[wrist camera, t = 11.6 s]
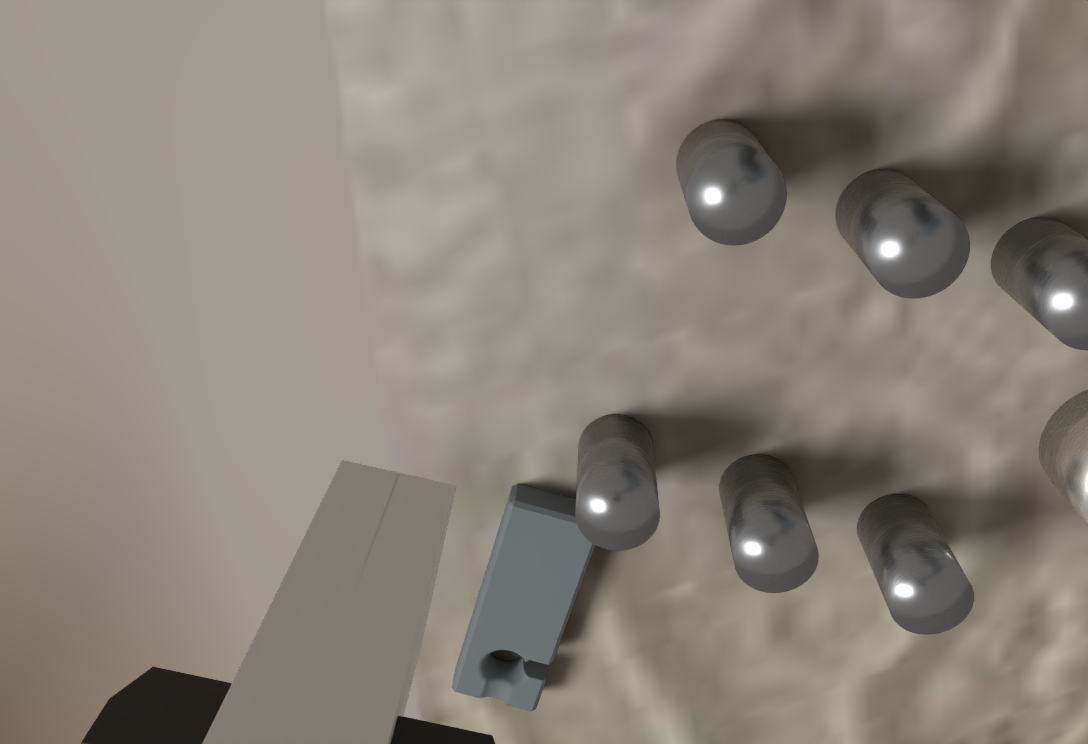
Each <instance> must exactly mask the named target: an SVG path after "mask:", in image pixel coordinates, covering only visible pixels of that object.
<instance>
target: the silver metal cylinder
mask: <svg viewBox="0 0 1088 744" xmlns="http://www.w3.org/2000/svg"><path fill="white" fill-rule="evenodd" d="M1039 457H1040V462H1041V465H1042V467H1043V470H1044V472H1045V473H1046V475H1047V476H1048V477H1049V479H1050V480H1051V481H1052V482H1053V484H1054V485H1055V486H1056V487H1057V488H1058V490H1059V491H1060V492H1061V493H1062V494H1063V496H1064V497H1065V498H1066V499H1067V501H1068V502H1069V503H1070V504H1071V505H1072V507H1073V508H1074V509H1075V510H1076V512H1077V513H1078V514H1079V515H1080V516H1081V518H1082V519H1083V520H1084V521H1085V523H1086V524H1087V525H1088V390H1086V391H1083V392H1081V393H1079V394H1077V395H1076V396H1074V397H1072V398H1071V399H1069V400H1068V401H1067V402H1065V403H1064V404H1063V405H1062V406H1061V407H1060V408H1059V409H1058V410H1057V411H1056V412H1055V413H1054V414H1053V415H1052V417H1051V418H1050V419H1049V421H1048V423H1047V424H1046V426H1045V428H1044V430H1043V433H1042V435H1041V439H1040V445H1039Z"/></svg>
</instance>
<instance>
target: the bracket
mask: <svg viewBox="0 0 1088 744" xmlns="http://www.w3.org/2000/svg"><path fill="white" fill-rule="evenodd" d="M575 512H576V499H573V498H569V497H565V496H562V495H558V494H554V493H550V492H547V491H543V490H539V489H536V488H532V487H528V486H524V485H521V484H516V485H514V486H512V488H511V491H510V494H509V498H508V501H507V504H506V507H505V511H504V514H503V517H502V520H501V523H500V527H499V530H498V533H497V536H496V540H495V543H494V546H493V549H492V553H491V556H490V559H489V562H488V565H487V569H486V572H485V575H484V578H483V582H482V585H481V588H480V591H479V594H478V598H477V601H476V604H475V607H474V611H473V614H472V617H471V620H470V624H469V627H468V630H467V633H466V636H465V640H464V643H463V646H462V649H461V653H460V656H459V659H458V662H457V665H456V669H455V674H454V679H453V684H452V688H453V690H454V691H455V692H458V693H462V694H466V695H470V696H474V697H478V698H482V697H494V698H497V699H499V700H501V701H503V702H504V703H505V704H506V705H509V706H513V707H516V708H520V709H524V710H528V711H533V710H535V709H536V707H537V705H538V702H539V699H540V696H541V694H542V691H543V688H544V685H545V682H546V680H547V672H548V664H550V663H552V662H553V660H554V658H555V655H556V652H557V649H558V647H559V644H560V641H561V638H562V636H563V633H564V630H565V627H566V625H567V622H568V619H569V616H570V614H571V611H572V608H573V605H574V603H575V600H576V597H577V594H578V591H579V589H580V586H581V583H582V580H583V578H584V575H585V572H586V569H587V567H588V564H589V561H590V558H591V556H592V553H593V550H594V547H595V545H594V544H593V543H591V542H590V541H589V540H587V539H586V538H585V537H584V536H583V534H582V533H581V532H580V530H579V528H578V525H577V523H576V515H575ZM497 650H509V651H513V652H515V653H517V654H519V655H520V656H521V658H520V659H518V660H515V661H502V660H499V659H497V658H496V657H494V656H493V655H492V654H491V652H494V651H497Z"/></svg>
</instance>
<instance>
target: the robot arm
mask: <svg viewBox="0 0 1088 744" xmlns="http://www.w3.org/2000/svg"><path fill="white" fill-rule="evenodd" d="M455 489H456V485H451V484H447V483H442V482H438V481H433V480H429V479H424V478H420V477H416V476H411V475H407V474H402V473H398V472H393V471H389V470H384V469H380V468H375V467H370V466H366V465H361V464H357V463H352V462H348V461H344V460H342V462H341V463H340V465H339V468H338V469H337V472H336V473H335V476H334V478H333V480H332V482H331V484H330V486H329V488H328V490H327V492H326V494H325V496H324V498H323V500H322V502H321V504H320V506H319V508H318V510H317V512H316V514H315V516H314V518H313V520H312V522H311V524H310V526H309V528H308V530H307V532H306V534H305V536H304V539H303V540H302V543H301V544H300V546H299V549H298V551H297V553H296V555H295V557H294V559H293V561H292V563H291V565H290V567H289V569H288V571H287V573H286V575H285V577H284V579H283V581H282V583H281V585H280V587H279V589H278V591H277V593H276V595H275V597H274V599H273V602H272V603H271V605H270V607H269V610H268V611H267V613H266V615H265V617H264V619H263V622H262V624H261V626H260V628H259V630H258V632H257V634H256V636H255V638H254V640H253V642H252V644H251V646H250V648H249V650H248V652H247V654H246V656H245V658H244V660H243V662H242V664H241V666H240V668H239V670H238V672H237V674H236V676H235V678H234V680H233V682H232V683H227V682H223V681H218V680H213V679H209V678H204V677H199V676H194V675H190V674H185V673H180V672H176V671H171V670H166V669H161V668H157V667H152V668H151V669H150V670H148V671H147V672H145V673H144V674H143V675H141V676H140V677H139V678H137V679H136V680H134V681H133V682H132V683H130V684H129V685H128V686H126V687H125V688H124V689H122V690H121V691H119V692H118V693H117V694H115V695H114V696H113V697H111V698H110V699H109V700H108V702H107V703H106V705H105V707H104V708H103V710H102V711H101V713H100V714H99V716H98V717H97V719H96V720H95V722H94V724H93V725H92V727H91V728H90V730H89V731H88V733H87V734H86V736H85V738H84V739H83V741H82V742H81V744H495V742H494V739H493V736H492V735H487V734H483V733H478V732H473V731H468V730H464V729H459V728H454V727H450V726H445V725H440V724H435V723H431V722H426V721H421V720H417V719H412V718H407V717H403V715H404V712H405V708H406V704H407V700H408V696H409V692H410V688H411V684H412V680H413V676H414V672H415V668H416V665H417V661H418V657H419V653H420V649H421V644H422V640H423V635H424V631H425V626H426V622H427V617H428V612H429V608H430V603H431V599H432V594H433V589H434V585H435V580H436V576H437V571H438V567H439V562H440V557H441V553H442V548H443V544H444V539H445V535H446V530H447V525H448V521H449V516H450V512H451V507H452V503H453V498H454V493H455Z"/></svg>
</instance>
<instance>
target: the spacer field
mask: <svg viewBox="0 0 1088 744" xmlns="http://www.w3.org/2000/svg"><path fill="white" fill-rule="evenodd" d="M676 168H677V174H678V178H679V181H680V184H681V188H682V191H683V194H684V197H685V200H686V204H687V207H688V210H689V213H690V216H691V218H692V221H693V222H694V224H695V226H696V227H697V228H698V230H699V231H700V232H701V233H702V234H703V235H705V236H706V237H707V238H709V239H711V240H713V241H715V242H717V243H720V244H725V245H743V244H747V243H751V242H753V241H756V240H758V239H760V238H761V237H763V236H764V235H766V234H767V233H768V232H769V231H770V230H772V229H773V227H774V226H775V225H776V224H777V222H778V221H779V219H780V218H781V216H782V213H783V211H784V208H785V204H786V197H787V191H786V184H785V180H784V177H783V175H782V173H781V171H780V169H779V168H778V167H777V165H776V164H775V163H774V161H773V160H772V159H771V157H770V156H769V155H768V153H767V152H766V151H765V149H764V148H763V147H762V145H761V144H760V143H759V141H758V140H757V139H756V137H755V136H754V135H753V133H752V132H751V131H750V130H749V129H747V128H746V127H745V126H743V125H741V124H739V123H737V122H734V121H729V120H715V121H710V122H707V123H704V124H702V125H700V126H699V127H697V128H695V129H694V130H693V131H692V132H691V133H690V134H689V135H688V136H687V137H686V138H685V140H684V141H683V143H682V145H681V147H680V149H679V152H678V155H677V162H676ZM836 224H837V227H838V230H839V232H840V234H841V235H842V237H843V238H844V239H845V241H846V242H847V243H848V244H849V246H850V247H851V248H852V249H853V251H854V252H855V253H856V255H857V256H858V257H859V258H860V260H861V261H862V262H863V263H864V265H865V266H866V267H867V268H868V270H869V271H870V272H871V274H872V275H873V276H874V277H875V279H876V280H877V281H878V282H879V284H880V285H881V286H882V287H883V288H884V289H886V290H887V291H888V292H890V293H892V294H894V295H897V296H899V297H904V298H924V297H928V296H931V295H934V294H936V293H938V292H940V291H942V290H944V289H945V288H947V287H948V286H949V285H951V284H952V283H953V282H954V281H955V280H956V279H957V278H958V276H959V275H960V274H961V272H962V271H963V269H964V267H965V265H966V263H967V260H968V256H969V251H970V240H969V235H968V232H967V230H966V227H965V225H964V224H963V223H962V221H961V220H960V219H959V218H958V217H957V216H956V215H955V214H953V213H952V212H951V211H950V210H948V209H947V208H946V207H945V206H943V205H942V204H941V203H940V202H938V201H937V200H936V199H935V198H933V197H932V196H931V195H930V194H928V193H927V192H926V191H925V190H923V189H922V188H921V187H920V186H918V185H917V184H916V183H915V182H913V181H912V180H911V179H910V178H908V177H907V176H906V175H904V174H902V173H900V172H897V171H894V170H888V169H879V170H873V171H870V172H867V173H865V174H862V175H861V176H859V177H857V178H856V179H854V180H853V181H852V182H851V183H850V184H849V185H848V186H847V187H846V188H845V189H844V191H843V192H842V194H841V196H840V198H839V200H838V203H837V207H836ZM991 270H992V274H993V277H994V279H995V281H996V283H997V284H998V285H999V286H1000V287H1001V288H1002V289H1003V290H1004V291H1005V292H1006V293H1007V294H1008V295H1009V296H1011V297H1012V298H1013V299H1014V300H1015V301H1016V302H1017V303H1018V304H1020V305H1021V306H1022V307H1023V308H1024V309H1025V310H1026V311H1027V312H1028V313H1030V314H1031V315H1032V316H1033V317H1034V318H1035V319H1036V320H1037V321H1039V322H1040V323H1041V324H1042V325H1043V326H1044V327H1045V328H1046V329H1048V330H1049V331H1050V332H1051V333H1052V334H1053V335H1054V336H1055V337H1057V338H1058V339H1059V340H1060V341H1061V342H1063V343H1064V344H1066V345H1067V346H1069V347H1072V348H1075V349H1080V350H1088V239H1087V238H1086V237H1084V236H1082V235H1081V234H1079V233H1078V232H1076V231H1075V230H1073V229H1071V228H1070V227H1068V226H1067V225H1065V224H1063V223H1062V222H1060V221H1058V220H1055V219H1051V218H1032V219H1029V220H1025V221H1023V222H1020V223H1019V224H1017V225H1015V226H1013V227H1012V228H1011V229H1009V230H1008V231H1007V232H1006V233H1005V234H1004V235H1003V236H1002V237H1001V239H1000V240H999V241H998V243H997V245H996V246H995V249H994V251H993V254H992V259H991ZM719 493H720V498H721V503H722V508H723V512H724V517H725V522H726V527H727V531H728V536H729V541H730V546H731V550H732V555H733V560H734V565H735V569H736V571H737V573H738V575H739V577H740V578H741V579H742V580H743V582H745V583H746V584H747V585H748V586H750V587H752V588H754V589H756V590H759V591H762V592H767V593H780V592H786V591H789V590H792V589H795V588H797V587H799V586H800V585H802V584H803V583H805V582H806V581H807V580H808V579H809V578H810V577H811V576H812V574H813V573H814V571H815V569H816V567H817V564H818V557H819V555H818V549H817V546H816V543H815V540H814V537H813V534H812V531H811V528H810V526H809V523H808V520H807V517H806V514H805V511H804V508H803V506H802V503H801V500H800V497H799V494H798V491H797V488H796V486H795V483H794V480H793V477H792V475H791V472H790V471H789V469H788V468H787V467H786V465H784V464H783V463H782V462H781V461H779V460H777V459H775V458H773V457H770V456H766V455H751V456H747V457H744V458H741V459H739V460H737V461H735V462H734V463H732V464H731V465H730V466H729V467H728V468H727V469H726V470H725V472H724V473H723V475H722V477H721V480H720V484H719ZM575 515H576V523H577V525H578V528H579V530H580V532H581V533H582V534H583V536H584V537H585V538H586V539H587V540H589V541H590V542H591V543H593V544H594V545H596V546H599V547H601V548H604V549H608V550H627V549H632V548H634V547H637V546H639V545H641V544H643V543H644V542H646V541H647V540H648V539H649V538H650V537H651V536H652V535H653V533H654V532H655V530H656V528H657V526H658V523H659V518H660V511H659V501H658V491H657V481H656V471H655V461H654V451H653V442H652V438H651V436H650V434H649V432H648V430H647V429H646V428H645V427H644V426H643V425H642V424H641V423H640V422H638V421H637V420H635V419H633V418H631V417H628V416H624V415H607V416H603V417H601V418H598V419H596V420H595V421H593V422H592V423H590V424H589V425H588V426H587V427H586V428H585V430H584V431H583V433H582V435H581V437H580V440H579V446H578V468H577V490H576V512H575ZM857 534H858V537H859V540H860V542H861V544H862V547H863V549H864V552H865V554H866V556H867V559H868V561H869V563H870V566H871V568H872V570H873V573H874V575H875V577H876V580H877V582H878V585H879V587H880V589H881V592H882V594H883V596H884V599H885V601H886V603H887V606H888V608H889V610H890V613H891V615H892V617H893V619H894V620H895V622H896V623H897V624H898V625H899V626H901V627H902V628H904V629H905V630H908V631H910V632H913V633H917V634H937V633H941V632H944V631H947V630H949V629H952V628H953V627H955V626H957V625H958V624H959V623H961V622H962V621H963V620H964V619H965V618H966V617H967V615H968V614H969V612H970V611H971V609H972V606H973V602H974V592H973V589H972V586H971V584H970V582H969V581H968V579H967V577H966V575H965V574H964V572H963V570H962V568H961V567H960V565H959V563H958V561H957V559H956V558H955V556H954V554H953V552H952V551H951V549H950V547H949V545H948V544H947V542H946V540H945V538H944V536H943V535H942V533H941V531H940V529H939V528H938V526H937V524H936V522H935V521H934V519H933V517H932V515H931V513H930V512H929V510H928V508H927V507H926V506H925V504H923V503H922V502H921V501H920V500H918V499H916V498H914V497H912V496H908V495H902V494H894V495H888V496H884V497H882V498H879V499H877V500H875V501H874V502H872V503H871V504H869V505H868V506H867V507H866V508H865V509H864V511H863V512H862V513H861V515H860V517H859V519H858V523H857Z"/></svg>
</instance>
